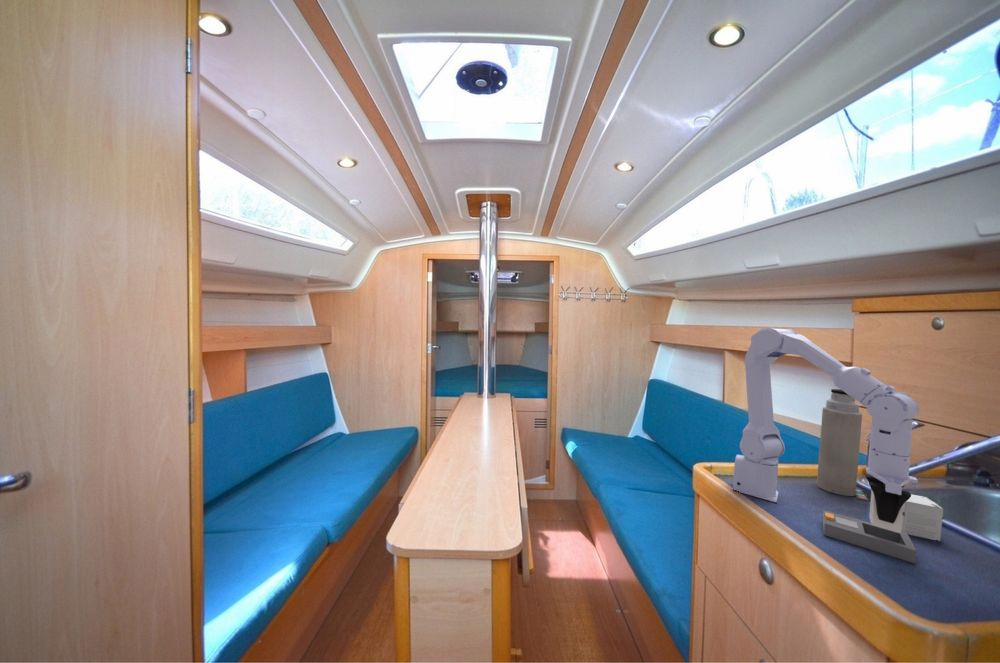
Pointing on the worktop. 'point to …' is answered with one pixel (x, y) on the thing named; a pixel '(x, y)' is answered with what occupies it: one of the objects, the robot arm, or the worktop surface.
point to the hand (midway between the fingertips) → (884, 516)
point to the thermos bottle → (839, 444)
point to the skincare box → (922, 518)
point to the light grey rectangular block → (883, 524)
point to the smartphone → (863, 495)
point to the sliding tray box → (868, 536)
